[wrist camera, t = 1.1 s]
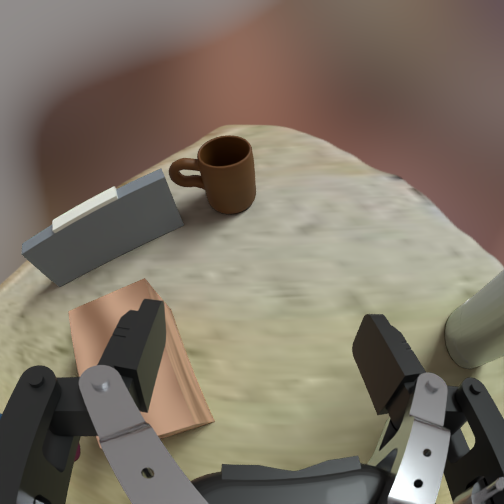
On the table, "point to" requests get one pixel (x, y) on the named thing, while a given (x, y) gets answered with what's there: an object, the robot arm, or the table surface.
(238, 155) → the mug
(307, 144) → the table surface
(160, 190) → the rail
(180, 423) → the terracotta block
